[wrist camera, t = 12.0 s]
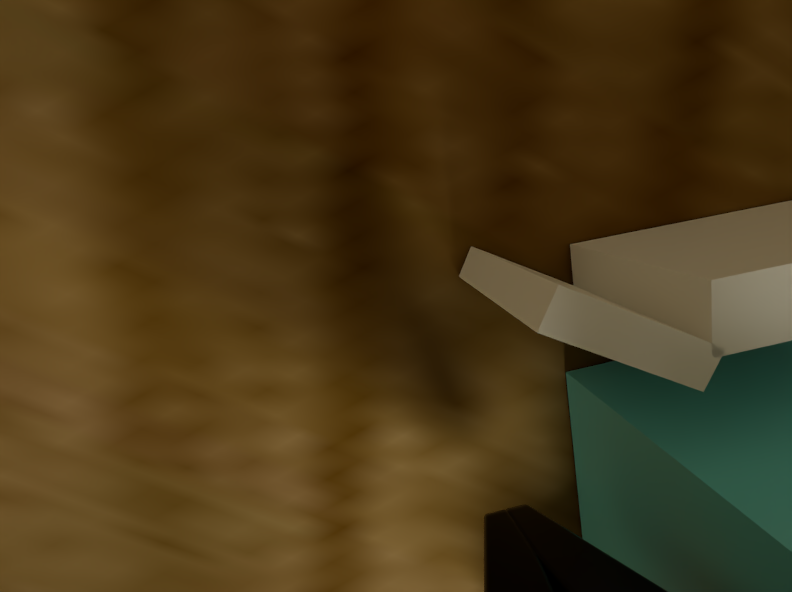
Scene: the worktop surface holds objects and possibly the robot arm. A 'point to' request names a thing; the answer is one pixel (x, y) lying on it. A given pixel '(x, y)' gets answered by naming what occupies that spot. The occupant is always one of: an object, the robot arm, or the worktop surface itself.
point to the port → (660, 292)
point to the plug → (689, 471)
